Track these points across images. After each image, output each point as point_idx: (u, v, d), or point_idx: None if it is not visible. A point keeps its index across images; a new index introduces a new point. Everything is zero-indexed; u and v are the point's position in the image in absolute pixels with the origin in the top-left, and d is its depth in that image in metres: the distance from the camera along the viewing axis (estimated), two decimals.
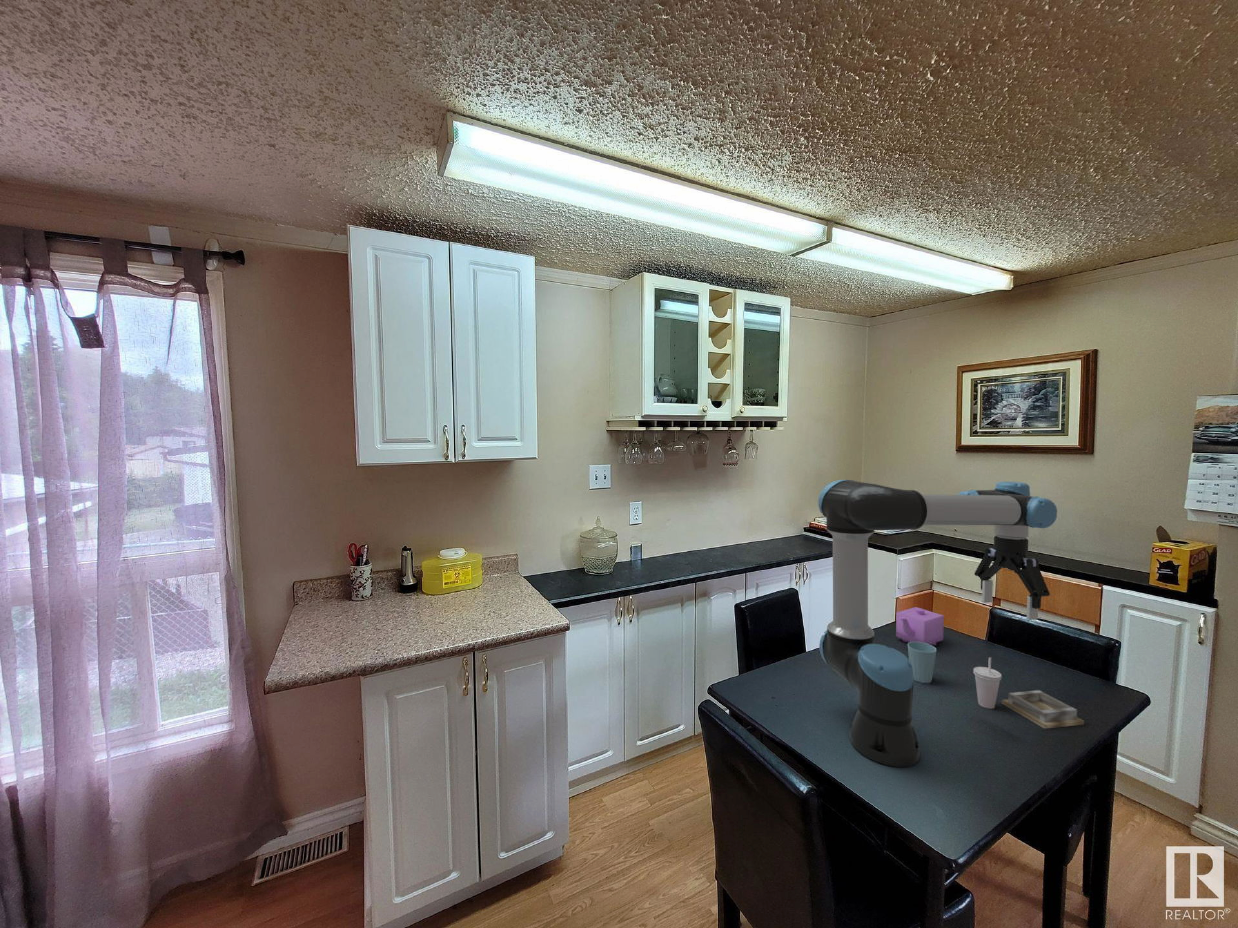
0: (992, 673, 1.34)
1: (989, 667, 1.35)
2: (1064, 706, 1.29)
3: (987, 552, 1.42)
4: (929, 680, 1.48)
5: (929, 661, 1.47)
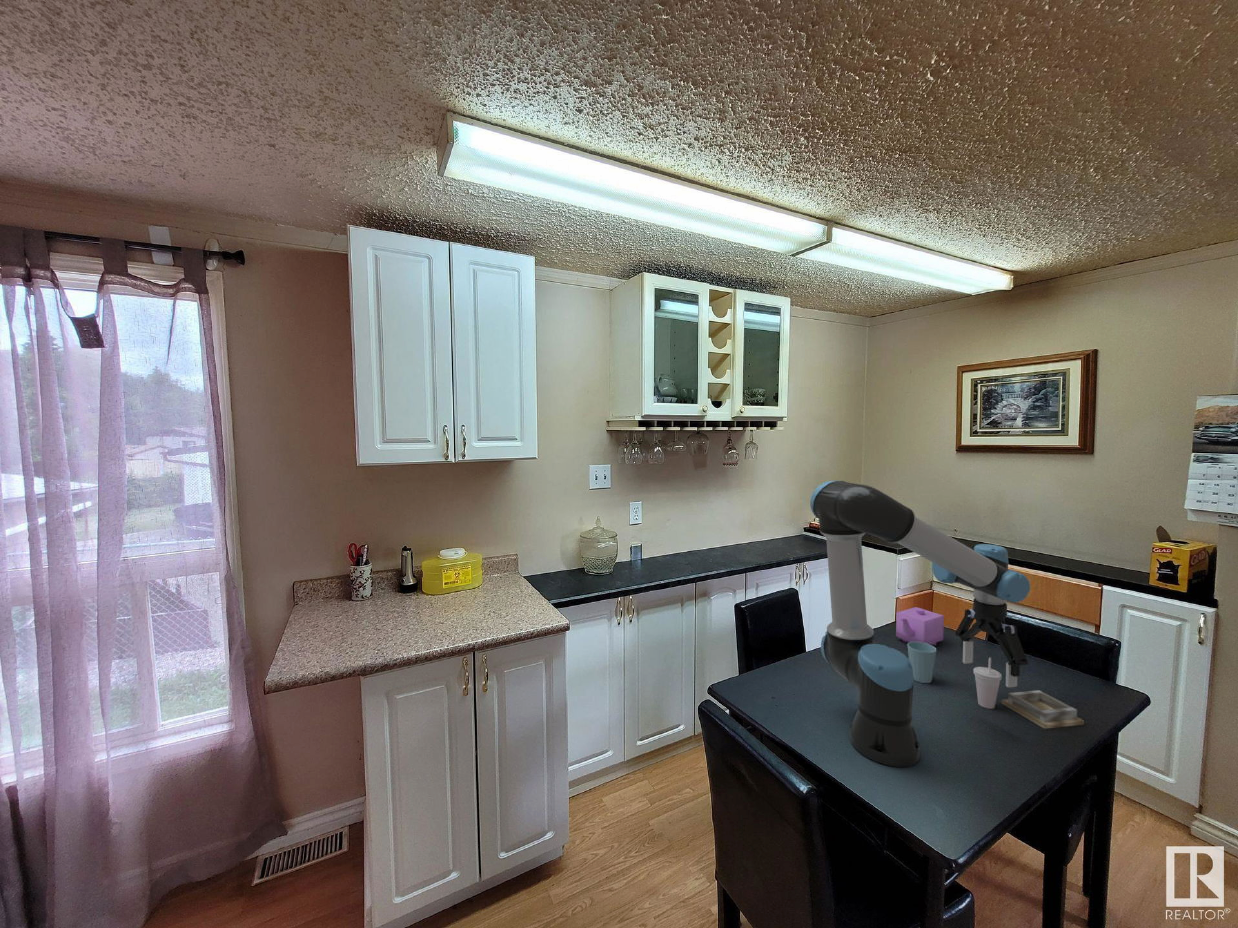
0: (992, 673, 1.34)
1: (989, 667, 1.35)
2: (1064, 706, 1.29)
3: (967, 613, 1.40)
4: (929, 680, 1.48)
5: (929, 661, 1.47)
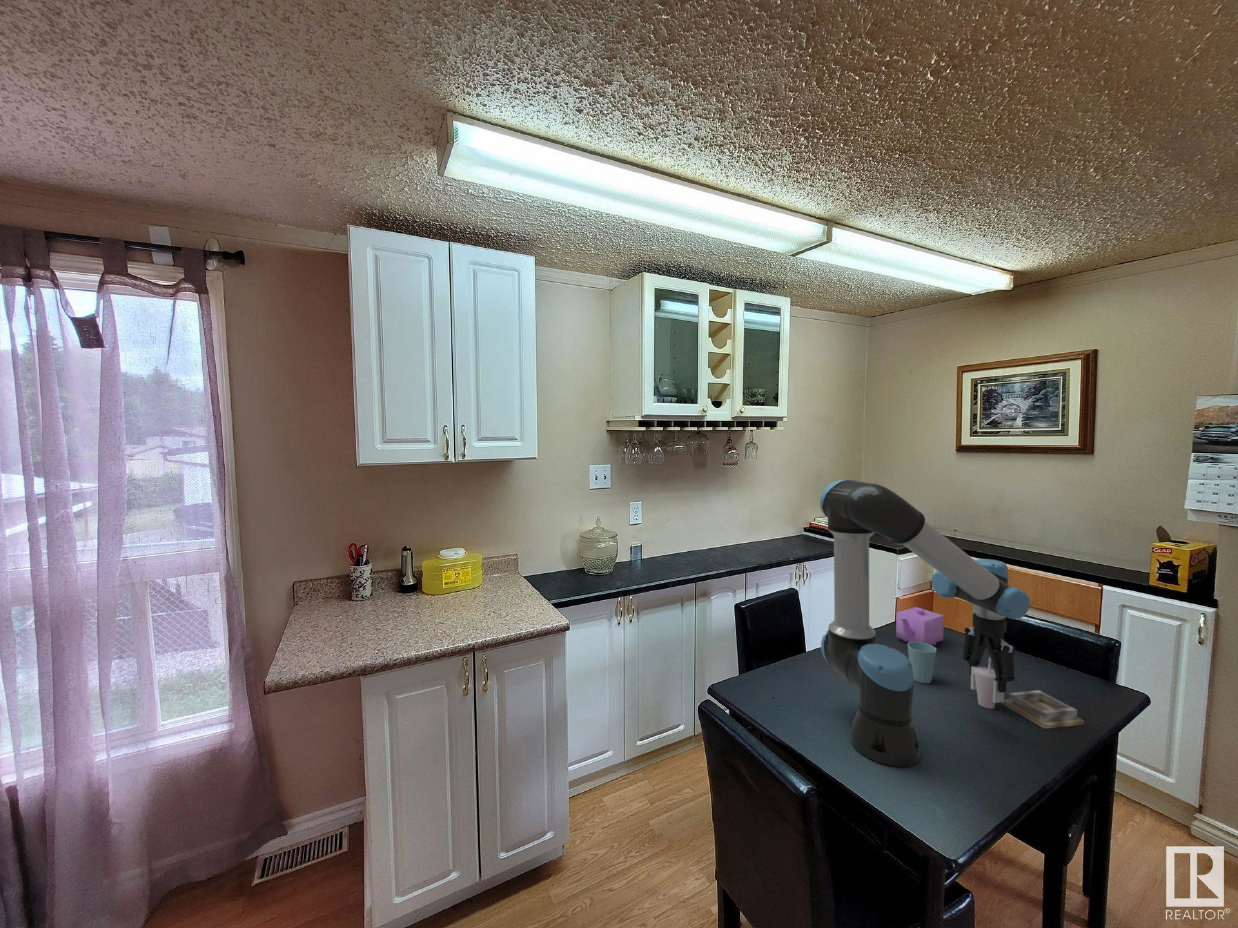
0: (992, 673, 1.34)
1: (989, 667, 1.35)
2: (1064, 706, 1.29)
3: (967, 631, 1.40)
4: (929, 680, 1.48)
5: (929, 661, 1.47)
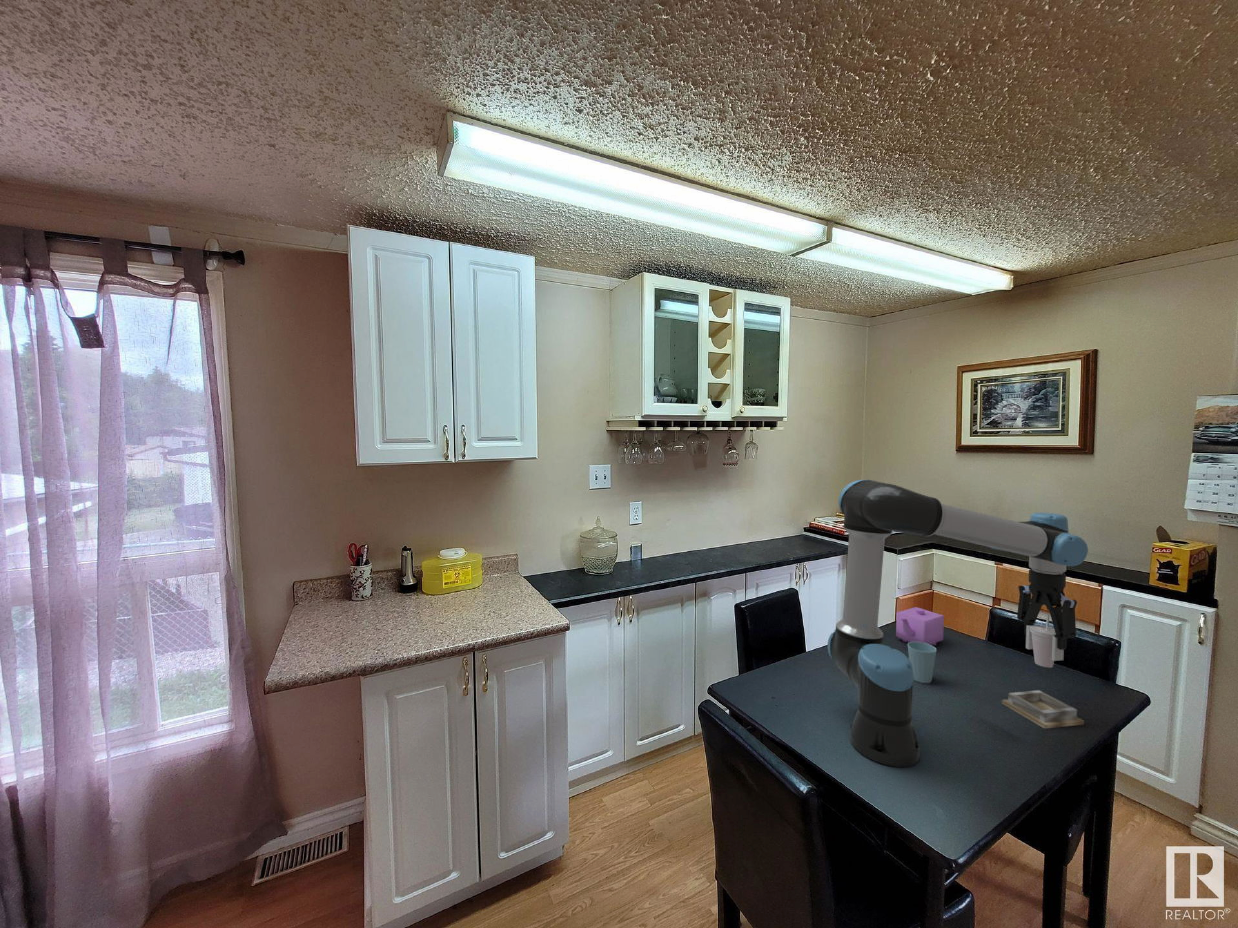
0: (1050, 630, 1.29)
1: (1047, 624, 1.30)
2: (1064, 706, 1.29)
3: (1021, 589, 1.35)
4: (929, 680, 1.48)
5: (929, 661, 1.47)
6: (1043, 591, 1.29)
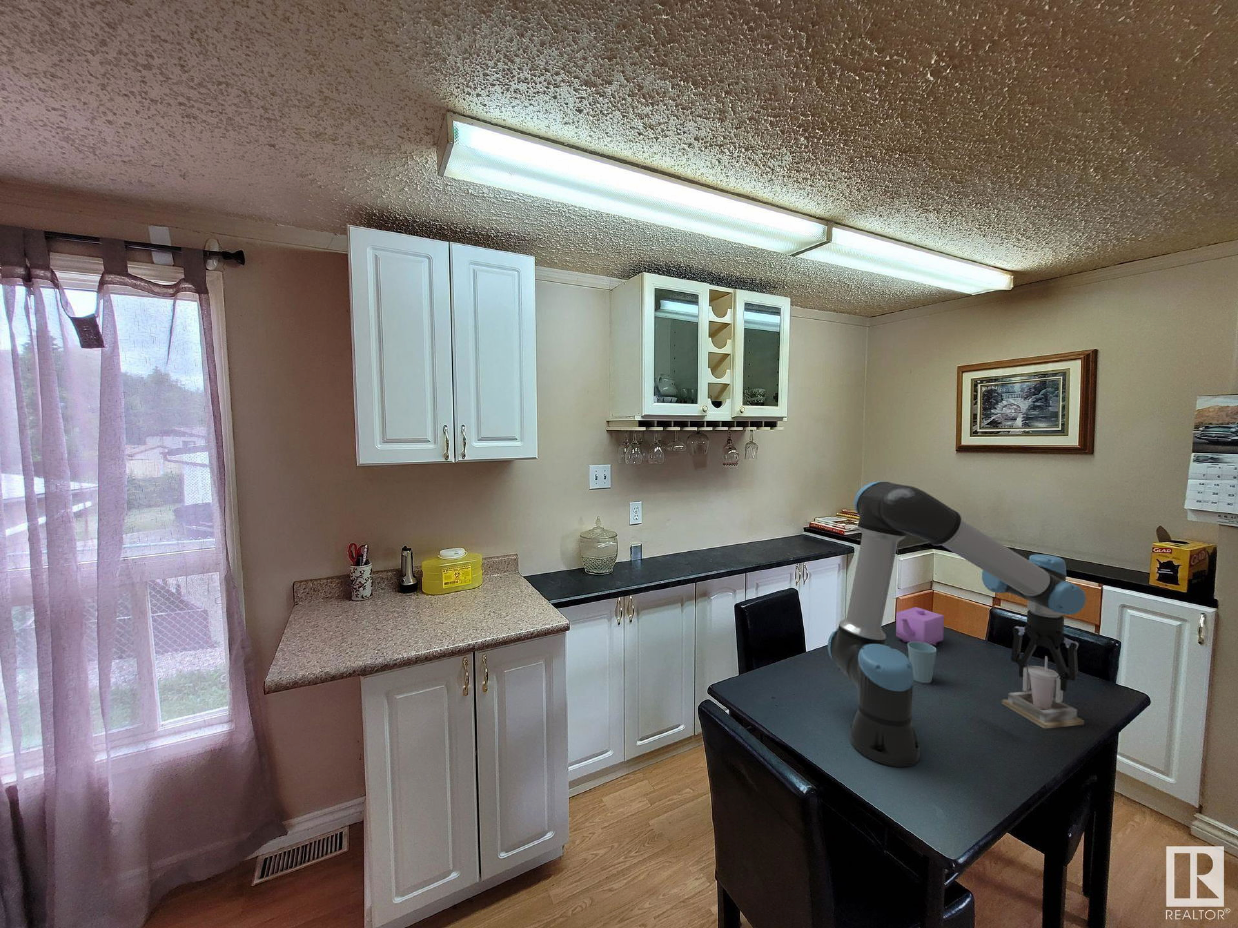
0: (1049, 672, 1.30)
1: (1046, 666, 1.30)
2: (1064, 706, 1.29)
3: (1016, 631, 1.35)
4: (929, 680, 1.48)
5: (929, 661, 1.47)
6: (1043, 634, 1.30)
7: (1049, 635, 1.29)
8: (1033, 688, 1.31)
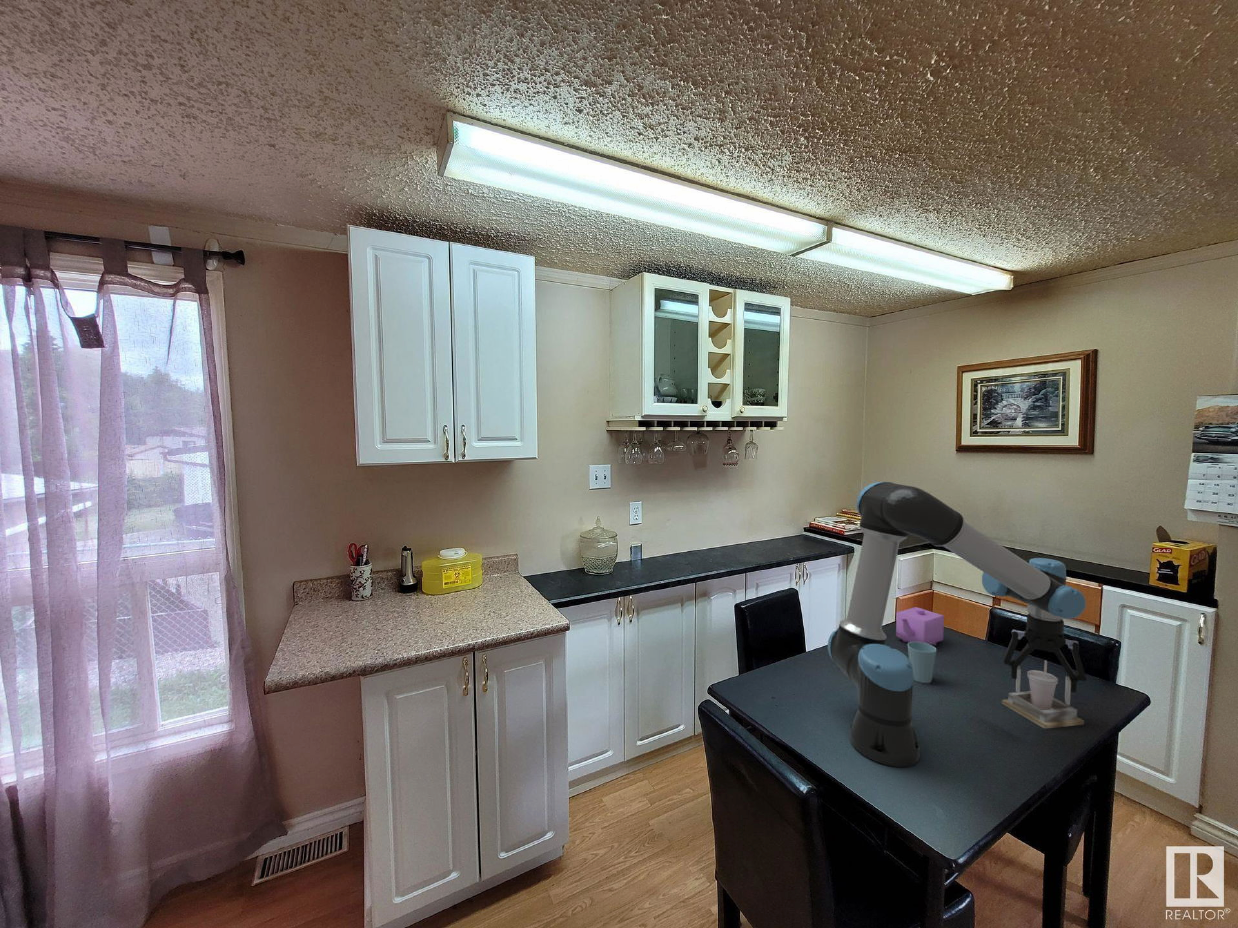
0: (1048, 675, 1.31)
1: (1045, 670, 1.31)
2: (1064, 706, 1.29)
3: (1016, 636, 1.33)
4: (929, 680, 1.48)
5: (929, 661, 1.47)
6: (1045, 638, 1.29)
7: (1050, 638, 1.29)
8: (1035, 694, 1.31)
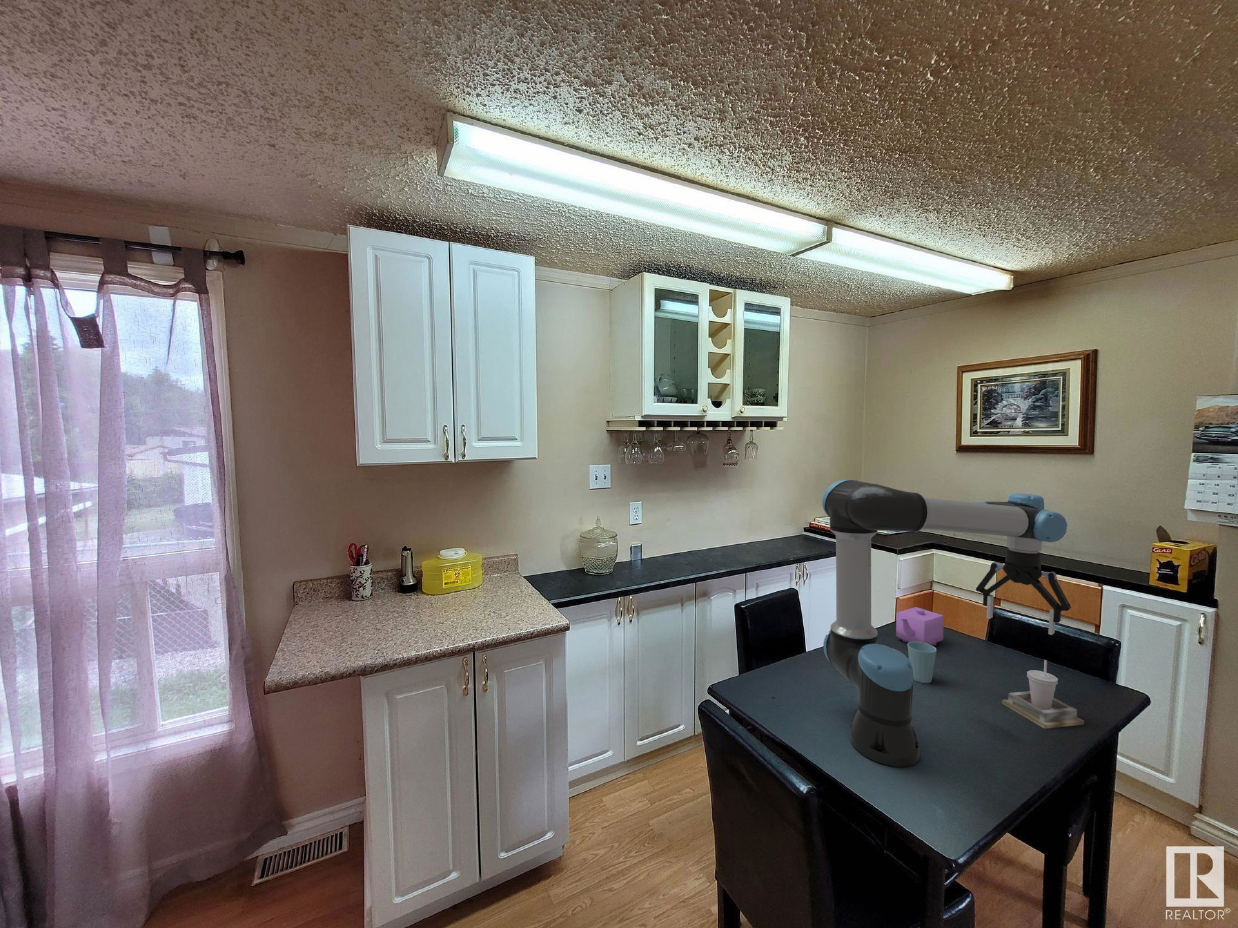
0: (1048, 675, 1.31)
1: (1045, 670, 1.31)
2: (1064, 706, 1.29)
3: (994, 567, 1.37)
4: (929, 680, 1.48)
5: (929, 661, 1.47)
6: (1022, 570, 1.32)
7: (1025, 571, 1.31)
8: (1035, 694, 1.31)
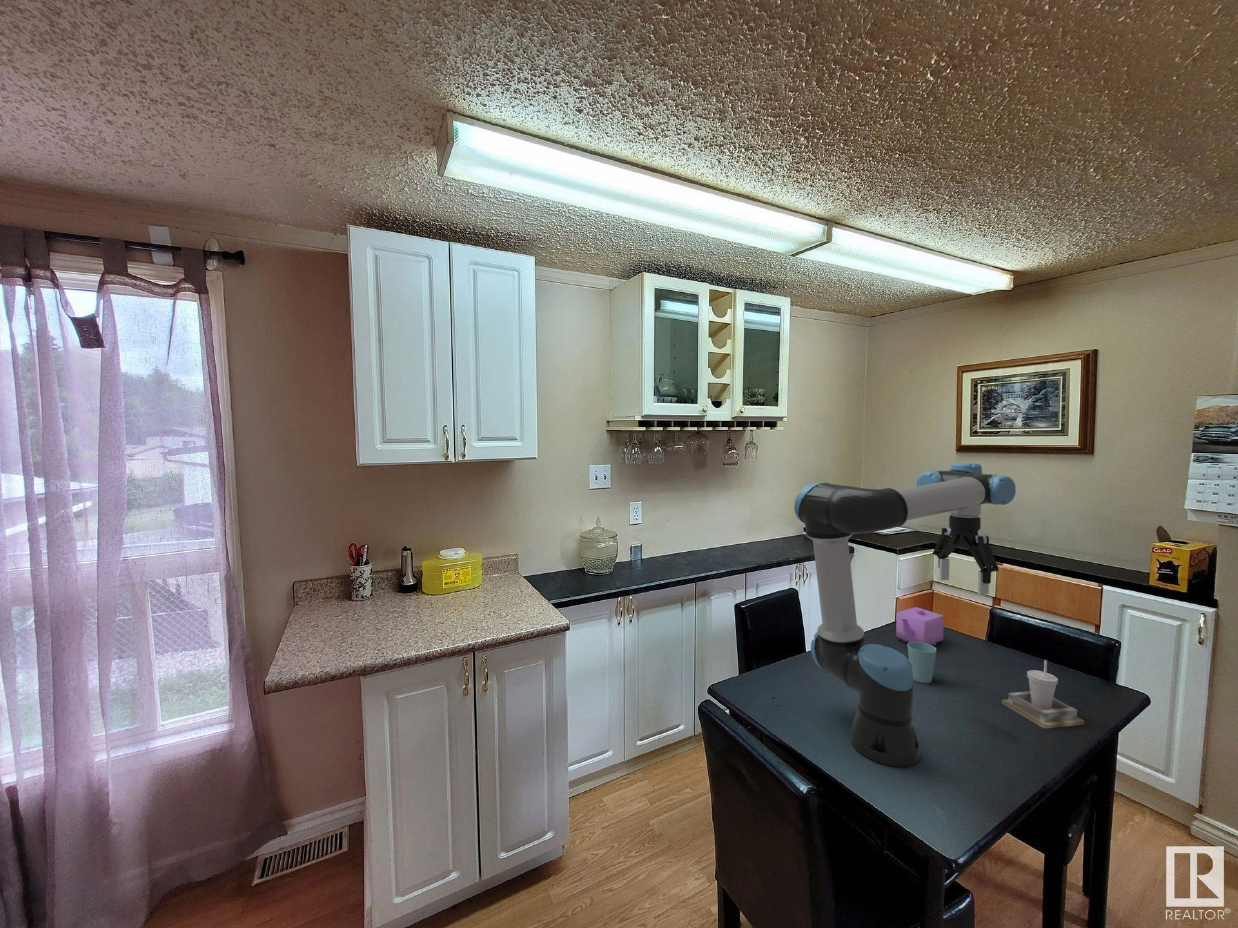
0: (1048, 675, 1.31)
1: (1045, 670, 1.31)
2: (1064, 706, 1.29)
3: (944, 531, 1.47)
4: (929, 680, 1.48)
5: (929, 661, 1.47)
6: (961, 534, 1.41)
7: (963, 535, 1.40)
8: (1035, 694, 1.31)
